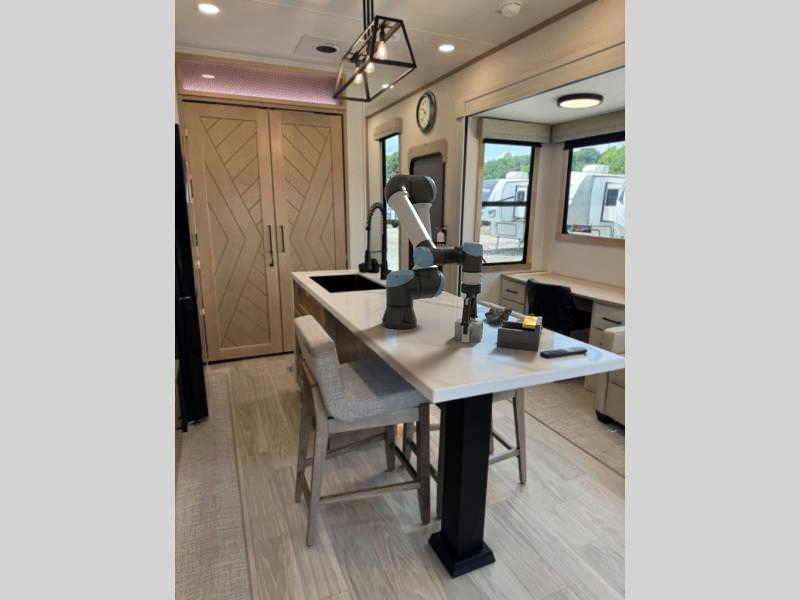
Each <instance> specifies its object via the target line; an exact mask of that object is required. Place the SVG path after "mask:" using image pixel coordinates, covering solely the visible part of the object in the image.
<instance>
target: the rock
mask: <svg viewBox="0 0 800 600" xmlns="http://www.w3.org/2000/svg"><path fill="white" fill-rule="evenodd" d="M512 312H513V309H512V308H508V307H504V308H503V307H491V308H489V310H488V312H485V313H484V316H485V318H486V319H487V320H488V322H489V323H490V324H491V325H495V326H496V325H499V324H500V323H501V321H503V320H504V321H510V320H509V318H510V316H511V314H512Z"/></svg>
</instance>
